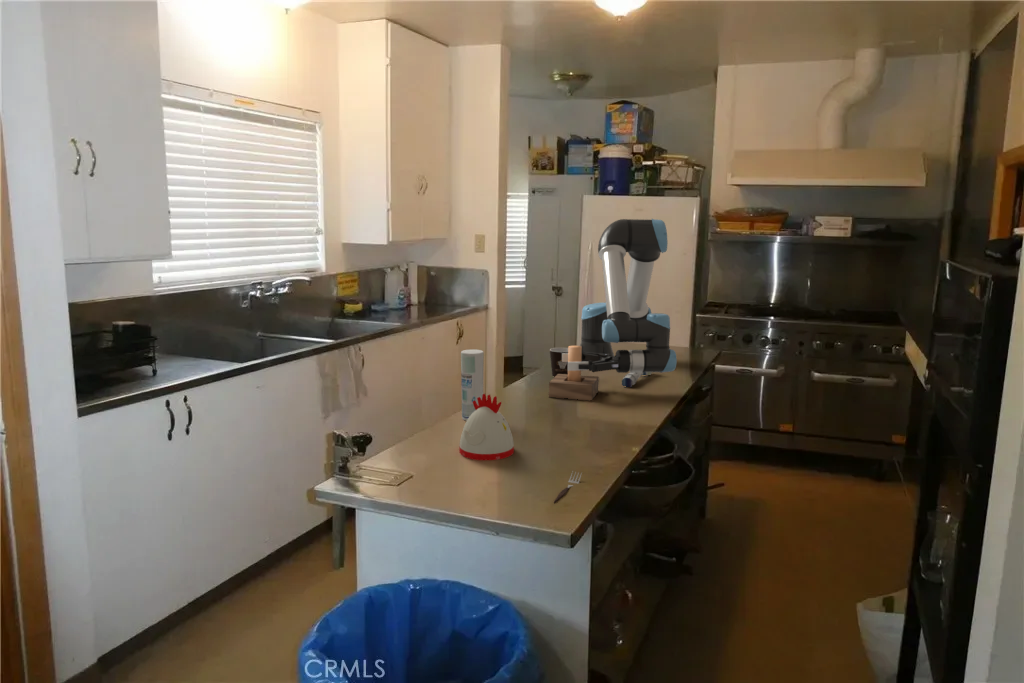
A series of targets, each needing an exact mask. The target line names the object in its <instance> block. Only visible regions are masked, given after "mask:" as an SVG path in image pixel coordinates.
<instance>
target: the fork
mask: <svg viewBox="0 0 1024 683" xmlns="http://www.w3.org/2000/svg"><path fill="white" fill-rule="evenodd" d="M573 474H574V475H573ZM576 474H577V475H576ZM582 474H583V472H581V473H580V472H579V471H578V472H577V471H575V472H574V471H572V472H571V475H570V477H569V479H568V481H567V482H568V483H570V484H567V487H565V488H564V489H563V490H561V491H560V492H559V493H558V495H557V496H556V498H555V499H554V500H553V503H554V504H555V503H556V502H558V501H560V499H561V498H562V497H564V496H565V495H566V494H567V492H568V490H569V489H570V488H571V487H574V485H573V484H580V481H581V477H582ZM575 477H576V478H575Z"/></svg>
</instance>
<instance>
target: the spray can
mask: <svg viewBox="0 0 1024 683" xmlns="http://www.w3.org/2000/svg"><path fill="white" fill-rule="evenodd" d="M484 356H485V355H484V351H483V350H481V349H465V350H461V351H460V369H461V370H460V372H461V381H460V382H461V384H460V385H461V419H462V421H465V422H466V421H467V420H468V418H469V417H470V415H471V414H472V413H473V412H474V411H476V410H475V407H474V405H473V401H476V403H477V405H478V400H477V398H478V397H480V398H481V400H482V395H483V394H484V361H485V360H484Z"/></svg>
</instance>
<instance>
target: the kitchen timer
mask: <svg viewBox="0 0 1024 683" xmlns="http://www.w3.org/2000/svg"><path fill="white" fill-rule="evenodd" d="M497 397H498V396H496V395H495V396H494V397H493V399H492V396H491V394H488V395H487V396H486V393H483V395H482V400H481V398H480V397H478V398H477V400H478V405H477V403H476V401H473V405H474V407H475V410H476V411H474V412H473V413H472V414H471V415H470V417H469V418H468V420H467V421H465V423H464V425H463V430H462V432H461V435H460V440H459V446H458V447H459V449H458V450H459V451H458V452H459V454H460V455H461V456H462V457H464V458H467V459H470V460H477V461H496V460H503V459H506V458H508V457H510V456H512V455H514V452H515V446H514V438H513V434H512V431H511V428H510V424H509V422H508V421H507V420H506V418H505V417H504V415H503V414H502V412H500V411H499V410H500V408H501V405H502V401H500V402H498V400H497Z"/></svg>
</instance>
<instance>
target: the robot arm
mask: <svg viewBox="0 0 1024 683" xmlns="http://www.w3.org/2000/svg"><path fill="white" fill-rule="evenodd" d="M666 226H667V224H666V223H665V221H663V220H662V219H654V218H651V219H641V218H640V219H638V218H636V219H635V218H633V219H632V218H631V219H630V218H629V219H628V218H620V219H617V220H615V221H613V222H612V223H610V224H609V225H607V227H606V228H605V229H604V231H603V232H602V234H601V235H600V237H599V241H598V246H597V252H598V253H597V254H598V258H599V259H600V260H601V264H602V265H601V266H602V272H603V273H602V274H603V275H602V276H603V277H602V278H603V284H604V294H605V295H604V297H605V302H594V303H590V304H586V305H584V306H583V307H582V309H581V317H580V318H581V334H580V338H581V339H580V340H581V341H580V345H579V346H581V347H582V358H581V362H568V353H562V362H568V371H577V370H581V371H589V372H592V373H598V372H604V371H605V372H606V371H611V370H615V371H616V373H618V374H619V373H622V374H624V373H627V374H628V372H629V373H630V372H635V373H636V374H638V372H652V373H669V372H670V373H671V372H673V371H675V369H676V368H677V362H678V360H677V352H676V351H675V350H674V349H671V348H670V339H671V338H670V334H671V319H670V318H671V317H670V315H669V314H666V313H658V312H657V313H656V312H653V313H652V309H651V308H650V306H649V305H648V303H647V299H648V294H649V289H650V284H651V279H652V275H653V271H654V270H653V269H654V264H655V262H656V261H657V260H659V258H660V256H661V254H664V253H666V252H668V251H667V250H668V233H667V232H668V231H667V227H666ZM626 254H628V256H629V257H630V262H629V266H628V272H627V275H626V268H625V267H626V266H625V256H627V255H626ZM626 277H627V278H626ZM612 343H614V344H618V343H646V344H645V347H646V349H629V350H628V349H617V350H616V352H615V354H614V351H613V347H612Z"/></svg>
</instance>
